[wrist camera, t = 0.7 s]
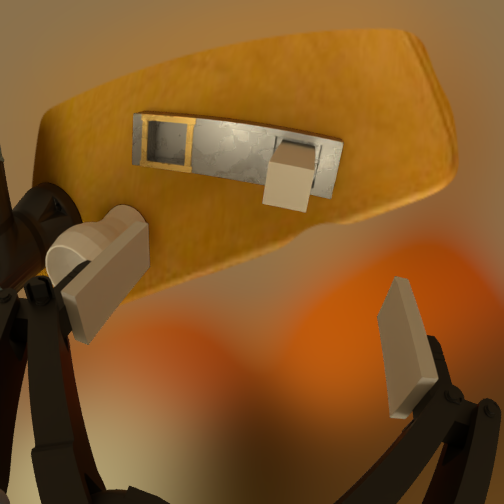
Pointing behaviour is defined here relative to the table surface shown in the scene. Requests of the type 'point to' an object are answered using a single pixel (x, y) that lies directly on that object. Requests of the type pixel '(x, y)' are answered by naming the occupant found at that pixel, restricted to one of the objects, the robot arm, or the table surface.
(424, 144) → the table surface
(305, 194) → the peg
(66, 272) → the cup
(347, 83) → the table surface
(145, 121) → the grey peg hole board
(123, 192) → the table surface
